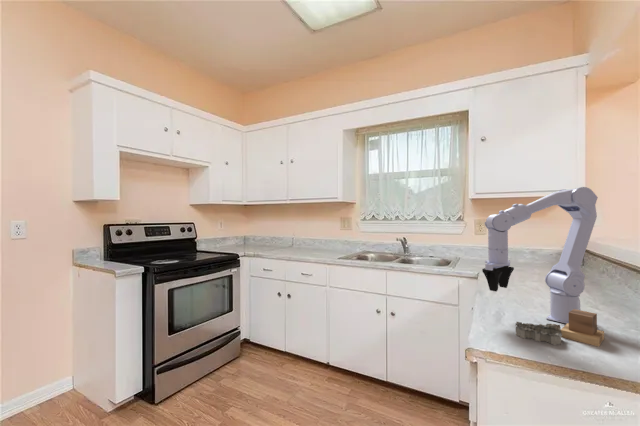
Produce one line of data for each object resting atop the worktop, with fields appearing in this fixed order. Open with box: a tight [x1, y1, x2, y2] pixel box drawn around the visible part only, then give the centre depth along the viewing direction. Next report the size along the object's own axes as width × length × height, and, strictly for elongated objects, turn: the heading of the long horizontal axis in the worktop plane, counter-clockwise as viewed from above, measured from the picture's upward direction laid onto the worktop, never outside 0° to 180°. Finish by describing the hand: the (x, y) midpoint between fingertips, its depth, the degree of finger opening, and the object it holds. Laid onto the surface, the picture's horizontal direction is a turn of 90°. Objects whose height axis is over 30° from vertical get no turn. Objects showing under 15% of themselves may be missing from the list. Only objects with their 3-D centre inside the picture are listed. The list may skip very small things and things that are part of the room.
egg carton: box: [515, 321, 562, 346], centre depth 83 cm, size 11×8×4 cm
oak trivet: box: [561, 323, 605, 347], centre depth 82 cm, size 8×8×2 cm
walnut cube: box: [569, 309, 598, 336], centre depth 82 cm, size 5×5×5 cm
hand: (498, 289), depth 98 cm, fingers open, 7 cm apart
